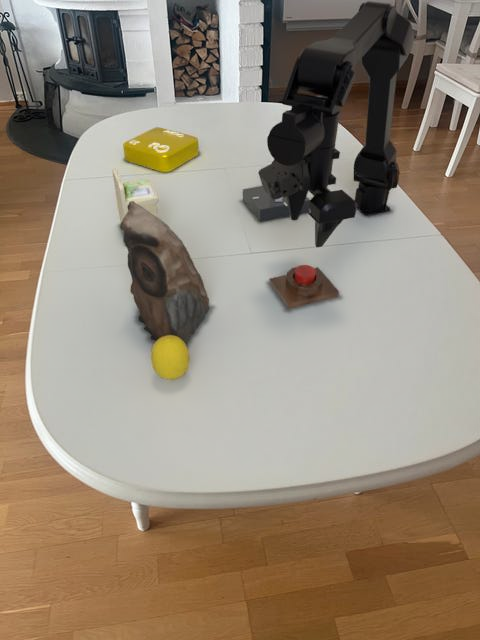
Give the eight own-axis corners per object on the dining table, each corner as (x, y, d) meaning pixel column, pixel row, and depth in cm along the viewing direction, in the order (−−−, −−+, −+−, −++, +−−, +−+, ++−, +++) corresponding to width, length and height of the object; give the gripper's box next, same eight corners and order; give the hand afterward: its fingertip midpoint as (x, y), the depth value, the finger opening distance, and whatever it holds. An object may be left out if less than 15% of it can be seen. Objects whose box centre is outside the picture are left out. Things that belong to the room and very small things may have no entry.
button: (308, 271, 95) (309, 263, 93) (318, 282, 92) (319, 274, 91) (291, 275, 94) (291, 267, 92) (299, 286, 91) (300, 278, 90)
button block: (317, 272, 99) (319, 259, 97) (338, 296, 93) (340, 283, 91) (269, 283, 96) (269, 270, 94) (287, 309, 90) (288, 296, 88)
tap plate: (288, 191, 123) (289, 178, 121) (310, 213, 115) (311, 200, 113) (241, 199, 120) (241, 187, 118) (260, 223, 112) (261, 210, 110)
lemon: (154, 364, 80) (149, 325, 75) (190, 362, 81) (187, 323, 75) (153, 391, 76) (147, 352, 71) (191, 389, 76) (187, 350, 71)
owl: (180, 355, 82) (170, 248, 68) (111, 335, 85) (89, 229, 72) (213, 308, 90) (209, 205, 77) (149, 291, 94) (135, 190, 81)
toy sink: (163, 239, 107) (157, 180, 98) (128, 245, 105) (118, 186, 97) (154, 219, 113) (147, 162, 104) (120, 225, 111) (110, 167, 103)
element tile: (201, 153, 139) (201, 135, 136) (166, 174, 130) (165, 155, 127) (158, 141, 145) (156, 124, 142) (121, 160, 136) (119, 142, 133)
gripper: (243, 126, 82) (241, 214, 92) (294, 175, 69) (285, 272, 79) (306, 118, 85) (298, 205, 95) (367, 163, 72) (350, 258, 82)
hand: (306, 232), depth 88 cm, fingers open, 9 cm apart
